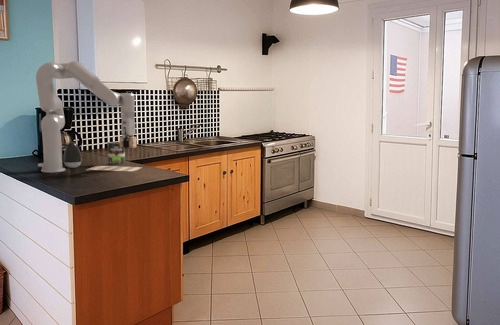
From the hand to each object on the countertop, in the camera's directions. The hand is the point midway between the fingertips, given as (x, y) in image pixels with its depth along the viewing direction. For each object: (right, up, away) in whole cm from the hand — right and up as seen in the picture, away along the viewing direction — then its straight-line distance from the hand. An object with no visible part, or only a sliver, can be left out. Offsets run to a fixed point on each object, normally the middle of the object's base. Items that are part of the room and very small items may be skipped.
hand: (128, 146), depth 256 cm
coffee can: (-13, -11, +22) cm, 28 cm away
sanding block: (0, 0, 0) cm, 0 cm away
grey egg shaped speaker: (-36, -12, +12) cm, 40 cm away
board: (-8, -14, +3) cm, 16 cm away
